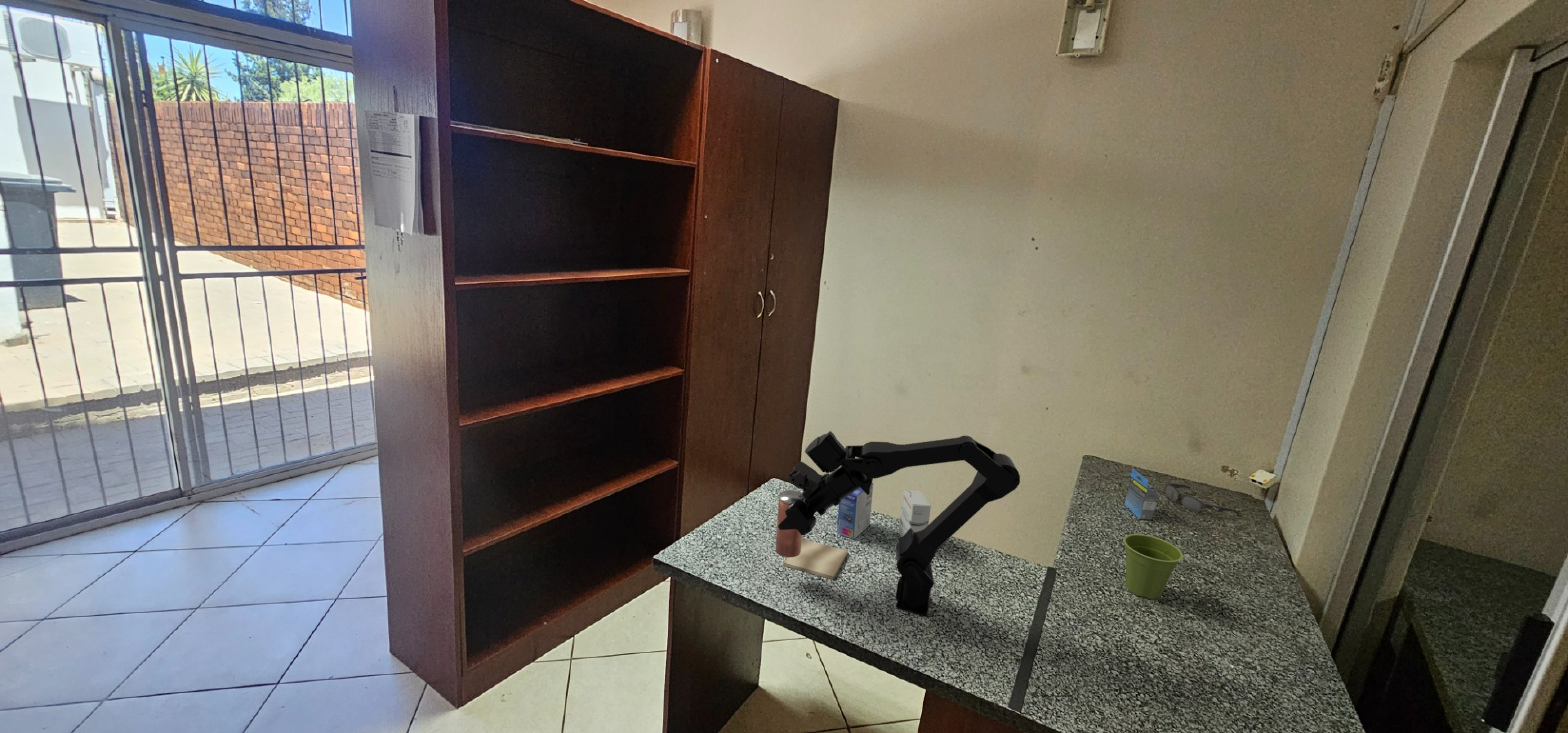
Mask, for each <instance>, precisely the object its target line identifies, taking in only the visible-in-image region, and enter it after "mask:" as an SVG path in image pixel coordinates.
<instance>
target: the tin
mask: <svg viewBox="0 0 1568 733" xmlns="http://www.w3.org/2000/svg"><path fill="white" fill-rule="evenodd" d="M796 500H800V501H803V502H804V500H805V497H804V495H803V492H800V491H797V490H784V491H781V492H780V493H779V494H778V508H777V520H776V521H777V522H776V534H775V535H776V537H775V547H774V550H775V553H776V554H777V555H779V556H781V557H784V558H787V557H796V556H798V555H799V554H800V552H801V542H802V539H803V538H802V537H803V535H801V534H800V533H799V531H798V530H797V529H790V530H780V529H779V528H778V525H779V524H780V523H781V522H782V521H783V520H784V519H785V518H786V517H787V515H786V513H785V510H786V509H787V508H788V507H789V506H790V504H791V503H792V502H795V501H796Z"/></svg>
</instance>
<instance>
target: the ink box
mask: <svg viewBox="0 0 1568 733" xmlns="http://www.w3.org/2000/svg"><path fill="white" fill-rule="evenodd" d="M901 501H902V502H901V507H900V515H899V521H898V522H899V523H898V529H897V530H898V534H899V535H900V538H901V537H903V536H904V535H905V534H906V532H907V531H908V530H909V529H910V528H912V530H913V531H914V532H918V531H921V530H923V529H925V528H926V527H927V526H928V525H929V524H930V515H931V509H932V508H931V507H932V505H931V504H930V503H929V501H928V500H927V498H926V497H925V495H924V494H923V492H922V491H918V490H903V493H902V500H901Z"/></svg>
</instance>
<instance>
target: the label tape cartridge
mask: <svg viewBox="0 0 1568 733" xmlns="http://www.w3.org/2000/svg"><path fill="white" fill-rule="evenodd" d="M1139 478H1140V479H1139ZM1128 484H1129V485H1128V488H1127V492H1126V498H1125V502H1124V506H1125V505H1126V506H1127V507H1126V508H1127V509H1128V508H1129V509H1128V510H1129V511H1130V512H1131V513H1133V514H1134V515H1135V516H1136V517H1137V518H1138V519H1139V520H1146V521H1148V520H1149V521H1151V520H1153V516H1154V512H1155V509H1156V504H1157V501H1158V497H1159V494H1158V493H1157V492H1156V491H1154V490H1153V489H1152V488H1151V487H1150V486H1149V479H1148V478H1147V477H1145V476H1143V475H1142V474H1141V473H1139V472H1138V471H1137V470H1136V469H1134V468H1133V467H1132V470H1131V474H1130V479H1129V483H1128Z"/></svg>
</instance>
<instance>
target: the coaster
mask: <svg viewBox="0 0 1568 733" xmlns="http://www.w3.org/2000/svg"><path fill="white" fill-rule="evenodd" d="M848 553H849V550H846V549H842V548H838V547H834V546H831V545H827V544H825V543H819V542H817V541H816V542H815V541H812V540H808V539H804V538H802V542H801V552H800V554H799V555H798V556H796V557H786V559H785V560H784V562H783V566H784V567H787V568H791V569H794V570H798V571H801V572H805V573H808V574H813V575H816V576H819V577H823V578H826V579H829V580H834V579H835V578H836V575H837V574H838V572H839V570H840V568H841V567H842V565H843V563H844V561H845V559H846V557H847V556H848Z"/></svg>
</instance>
